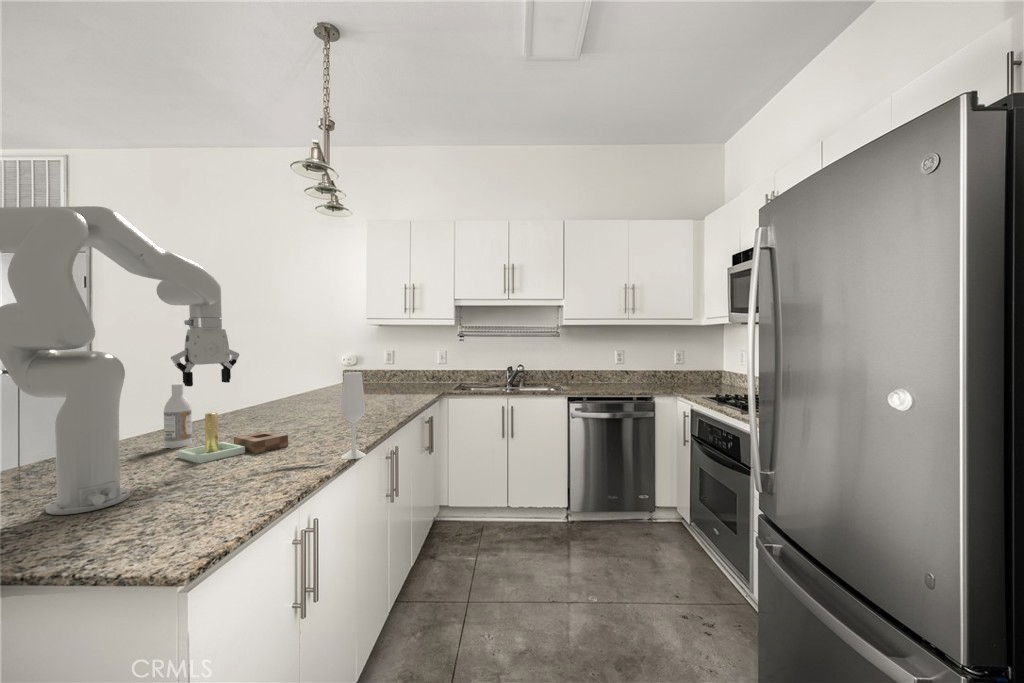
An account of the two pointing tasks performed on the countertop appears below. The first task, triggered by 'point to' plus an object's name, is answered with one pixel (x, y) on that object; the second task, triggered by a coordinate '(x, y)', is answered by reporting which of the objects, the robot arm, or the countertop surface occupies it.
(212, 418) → the gold cylinder
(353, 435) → the champagne flute
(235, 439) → the bore block
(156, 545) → the countertop surface
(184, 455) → the tray
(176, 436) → the bath foam
